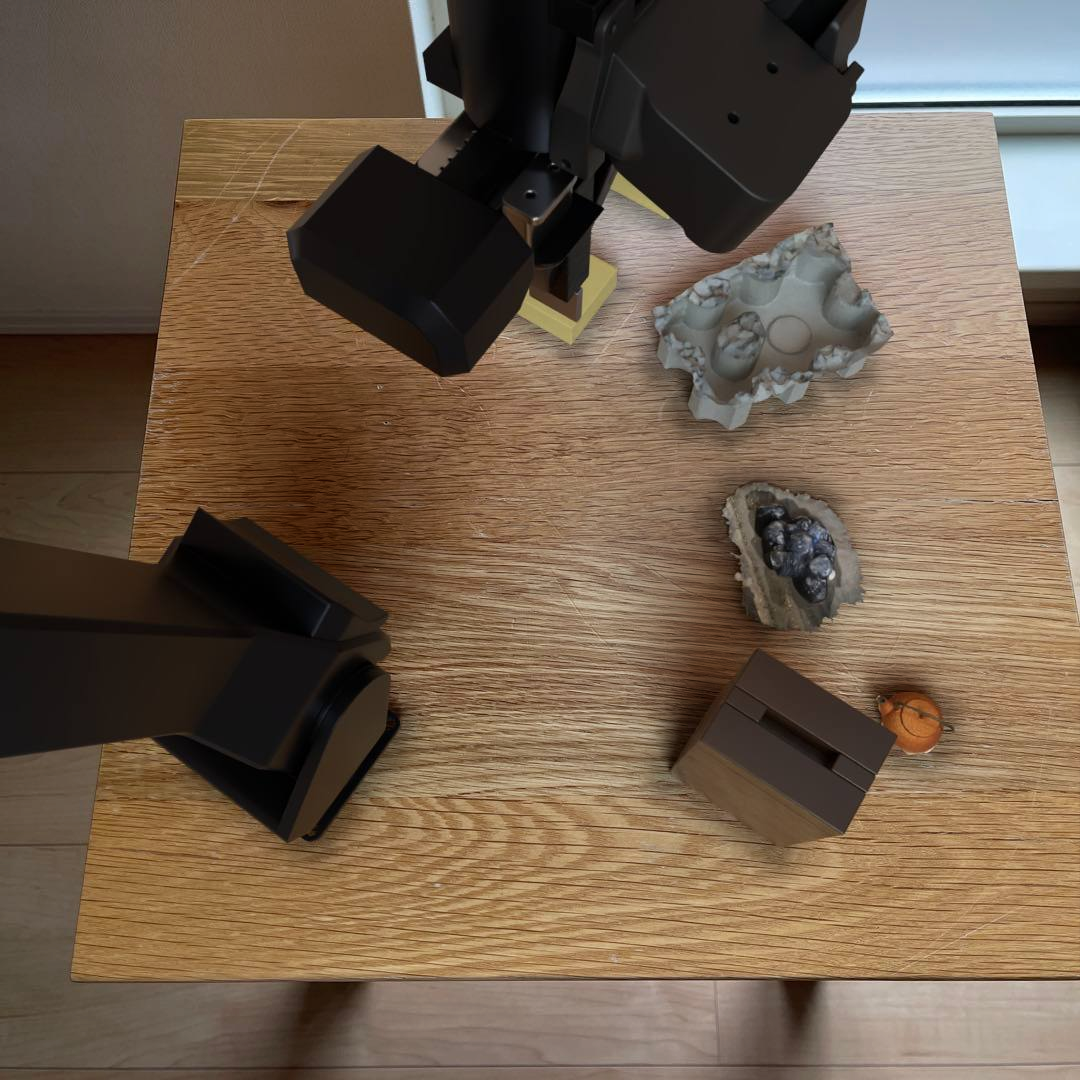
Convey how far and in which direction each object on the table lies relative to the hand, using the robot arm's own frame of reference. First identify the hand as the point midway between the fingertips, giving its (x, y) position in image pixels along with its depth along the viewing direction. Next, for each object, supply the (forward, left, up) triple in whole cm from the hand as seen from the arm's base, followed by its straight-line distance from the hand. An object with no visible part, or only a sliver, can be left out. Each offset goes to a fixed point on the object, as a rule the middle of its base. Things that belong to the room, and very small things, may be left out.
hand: (553, 267), depth 37 cm
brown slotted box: (-10, -17, -12) cm, 23 cm away
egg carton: (+9, -7, -12) cm, 17 cm away
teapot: (-4, -22, -12) cm, 25 cm away
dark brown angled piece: (0, 0, -2) cm, 3 cm away
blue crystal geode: (0, -13, -12) cm, 18 cm away
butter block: (+6, +5, -12) cm, 14 cm away
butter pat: (+14, +5, -12) cm, 19 cm away
